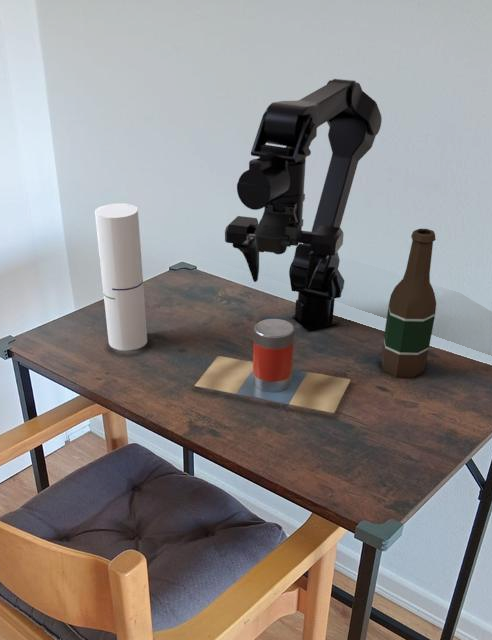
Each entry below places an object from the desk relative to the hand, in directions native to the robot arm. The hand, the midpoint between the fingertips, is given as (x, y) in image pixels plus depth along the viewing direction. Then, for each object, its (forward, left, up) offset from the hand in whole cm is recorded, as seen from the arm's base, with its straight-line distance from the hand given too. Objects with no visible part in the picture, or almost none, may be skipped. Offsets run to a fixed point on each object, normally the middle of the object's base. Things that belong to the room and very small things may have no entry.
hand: (281, 284), depth 128 cm
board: (+6, +10, -13) cm, 18 cm away
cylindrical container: (+24, -14, -13) cm, 31 cm away
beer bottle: (-17, +14, -13) cm, 26 cm away
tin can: (+7, +10, -12) cm, 17 cm away
